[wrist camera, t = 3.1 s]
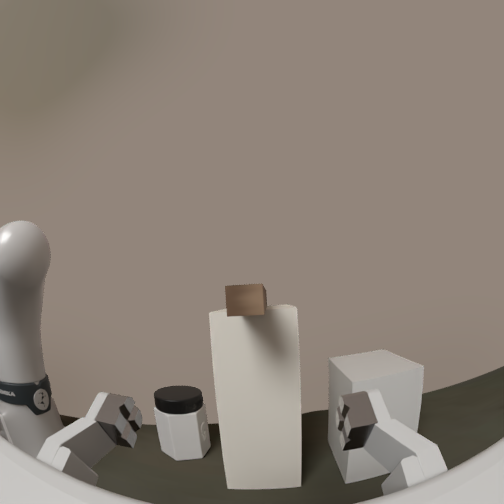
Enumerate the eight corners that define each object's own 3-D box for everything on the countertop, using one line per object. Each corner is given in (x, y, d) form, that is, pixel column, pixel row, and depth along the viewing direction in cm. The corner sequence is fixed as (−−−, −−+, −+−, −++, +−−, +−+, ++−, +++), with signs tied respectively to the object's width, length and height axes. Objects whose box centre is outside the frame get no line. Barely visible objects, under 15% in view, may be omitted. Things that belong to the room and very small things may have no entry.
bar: (226, 316, 22) (225, 285, 22) (248, 307, 43) (247, 291, 44) (264, 314, 21) (262, 283, 22) (267, 306, 43) (266, 290, 44)
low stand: (345, 483, 24) (352, 382, 27) (327, 440, 38) (328, 357, 41) (410, 465, 24) (424, 366, 27) (379, 430, 38) (383, 349, 40)
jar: (199, 465, 33) (189, 403, 35) (155, 456, 34) (143, 397, 36) (215, 441, 41) (209, 386, 43) (176, 436, 43) (168, 383, 45)
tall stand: (227, 488, 26) (209, 312, 31) (238, 444, 40) (227, 308, 44) (301, 486, 26) (296, 307, 30) (294, 442, 39) (288, 304, 44)
